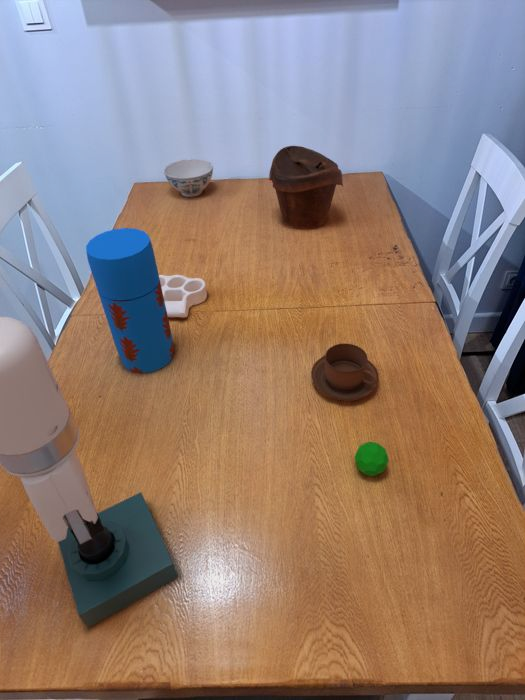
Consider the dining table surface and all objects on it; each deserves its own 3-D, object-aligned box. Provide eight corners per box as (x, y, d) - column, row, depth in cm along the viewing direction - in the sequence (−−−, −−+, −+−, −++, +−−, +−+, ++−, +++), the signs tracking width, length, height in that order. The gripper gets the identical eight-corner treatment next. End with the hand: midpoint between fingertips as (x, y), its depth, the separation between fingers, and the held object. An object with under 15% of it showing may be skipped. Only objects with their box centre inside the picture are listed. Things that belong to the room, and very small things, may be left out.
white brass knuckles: (119, 321, 106) (135, 283, 117) (201, 321, 105) (210, 282, 116) (115, 309, 104) (132, 271, 115) (199, 308, 103) (208, 270, 114)
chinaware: (207, 204, 148) (203, 179, 143) (160, 201, 151) (156, 176, 146) (221, 183, 159) (219, 160, 154) (178, 181, 162) (174, 158, 157)
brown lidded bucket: (334, 238, 129) (338, 171, 117) (262, 230, 134) (259, 165, 122) (346, 209, 141) (351, 145, 129) (280, 202, 146) (279, 140, 135)
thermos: (111, 369, 95) (72, 256, 78) (134, 334, 102) (103, 225, 86) (163, 377, 92) (134, 263, 76) (183, 340, 100) (161, 230, 84)
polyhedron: (392, 468, 75) (397, 449, 72) (373, 487, 73) (376, 469, 70) (366, 449, 78) (369, 430, 75) (346, 467, 76) (349, 448, 72)
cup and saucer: (382, 367, 92) (386, 342, 88) (370, 413, 84) (374, 388, 79) (320, 354, 95) (321, 329, 91) (303, 397, 87) (303, 372, 83)
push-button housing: (88, 628, 60) (73, 609, 56) (65, 547, 68) (50, 525, 64) (178, 577, 64) (170, 555, 60) (146, 506, 72) (138, 483, 68)
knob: (86, 569, 60) (81, 562, 58) (78, 542, 62) (73, 535, 61) (118, 553, 61) (114, 545, 60) (108, 527, 64) (104, 519, 62)
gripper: (-16, 402, 50) (45, 499, 63) (6, 514, 41) (73, 604, 53) (57, 374, 53) (102, 472, 65) (95, 473, 43) (140, 568, 55)
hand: (89, 531), depth 59 cm, fingers closed
